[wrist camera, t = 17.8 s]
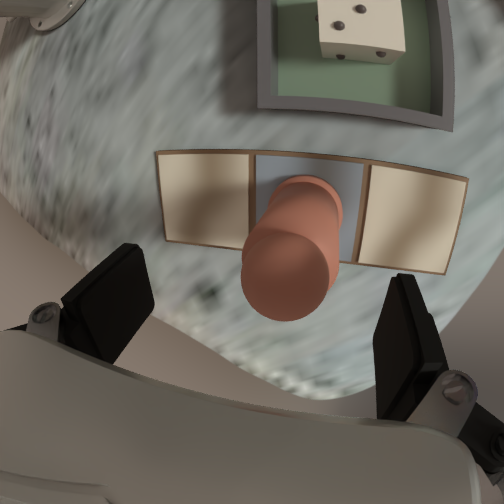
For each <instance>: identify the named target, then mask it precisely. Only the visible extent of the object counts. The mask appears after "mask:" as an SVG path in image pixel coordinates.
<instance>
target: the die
mask: <svg viewBox="0 0 504 504" xmlns="http://www.w3.org/2000/svg"><path fill="white" fill-rule="evenodd" d="M317 2H318V15H316V16H315V20H316V21H317V22H318V23H319V40H320V46H321V51H322V57H323V58H333V59H339V60H343V59H346V60H356V61H365V62H373V63H380V64H387V65H391V64H392V63H393V62H394V61H395V60H396V59H398V58H399V57H400V56H401V55H402V54H404V53H405V37H404V25H403V16H402V7H401V0H317Z"/></svg>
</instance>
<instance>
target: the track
mask: <svg viewBox="0 0 504 504" xmlns="http://www.w3.org/2000/svg"><path fill="white" fill-rule="evenodd" d="M156 157H157V169H158V180H159V191H160V200H161V209H162V217H163V226H164V233H165V241H166V242H175V243H183V244H191V245H199V246H207V247H216V248H224V249H232V250H240V251H242V250H243V246H244V243H245V241H246V239H247V237H248V235H249V234H250V233H251V231H252V230H253V228H254V227H255V225H256V224H257V223H258V221H259V220H260V218H261V217H262V215H263V214H264V213H265V211H266V210H267V208H268V203H269V200H270V197H271V195H272V194H273V192H274V191H275V190H276V188H277V187H278V186H279V185H280V184H281V183H282V182H283V181H285V180H286V179H288V178H290V177H292V176H296V175H302V174H308V175H314V176H317V177H320V178H322V179H324V180H326V181H327V182H328V183H330V184H331V185H332V186H333V187H334V189H335V190H336V191H337V193H338V195H339V197H340V199H341V203H342V210H343V219H342V224H341V227H340V229H339V263H347V264H355V265H363V266H372V267H380V268H388V269H396V270H404V271H413V272H421V273H429V274H437V275H445V274H446V271H447V268H448V265H449V262H450V259H451V255H452V252H453V248H454V245H455V241H456V237H457V233H458V229H459V225H460V221H461V217H462V212H463V208H464V203H465V198H466V193H467V187H468V181H469V179H468V178H467V177H463V176H458V175H454V174H449V173H445V172H440V171H435V170H430V169H425V168H420V167H415V166H409V165H403V164H397V163H391V162H385V161H378V160H371V159H363V158H356V157H347V156H338V155H328V154H317V153H305V152H291V151H274V150H247V149H188V150H162V151H156Z"/></svg>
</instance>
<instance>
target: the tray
mask: <svg viewBox="0 0 504 504" xmlns="http://www.w3.org/2000/svg"><path fill="white" fill-rule="evenodd" d="M401 7H402V16H403V25H404V37H405V53H404V54H402V55H401V56H400V57H399V58H398V59H396V60H395V61H394V62H393V63H392V64H391V65H387V64H380V63H373V62H365V61H356V60H346V59H343V60H339V59H333V58H323V57H322V51H321V46H320V40H319V23H318V22H317V21H316V20H315V16H316V15H318V2H317V0H257V108H261V109H286V110H307V111H322V112H334V113H344V114H353V115H361V116H369V117H376V118H382V119H389V120H395V121H400V122H406V123H411V124H416V125H421V126H426V127H430V128H435V129H439V130H444V131H449V132H453V122H454V97H455V76H454V52H453V39H452V29H451V20H450V13H449V7H448V1H447V0H401Z"/></svg>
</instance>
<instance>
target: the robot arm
mask: <svg viewBox="0 0 504 504" xmlns="http://www.w3.org/2000/svg"><path fill="white" fill-rule="evenodd" d="M84 1H85V0H0V17H7V21H8V22H13V21H14V20H15V19H16V18H17V17H29V20H30V23H31V25H32V26H33V28H35V29H36V30H41V31H49V30H52V29H55V28H57V27H58V26H60V25H62V24H63V23H64V22H65V21H67V20H68V19H69V18H70V17H71V16H72V15H73V14H74V13H75V12H76V11H77V10H78V9H79V7H80V6H81V5H82V4H83V3H84ZM61 301H62V303H63V306H64V307H63V308H62V309H61V308H60V306H59V304H57V303H55V302H47V303H44V304H41V305H39V306H38V307H36V308H35V309H34V310H33V311H32V312H31V314H30V316H29V320H28V323H27V324H24V325H20V326H17V327H14V328H11V329H7V330H4V331H0V504H504V423H502V422H501V421H500V420H498V419H497V418H496V417H495V416H493V415H492V414H491V413H489V412H488V411H487V410H486V409H484V408H483V407H482V406H480V405H479V404H478V403H476V400H477V396H478V391H477V387H476V384H475V382H474V381H473V379H472V378H471V377H470V376H469V375H468V374H466V373H464V372H462V371H460V370H449V368H448V364H447V360H446V357H445V353H444V350H443V347H442V343H441V340H440V337H439V334H438V331H437V328H436V325H435V322H434V319H433V317H432V315H431V314H430V313H428V311H427V308H426V306H425V303H424V300H423V297H422V295H421V292H420V289H419V287H418V284H417V282H416V279H415V277H414V275H412V274H403V273H398V274H397V276H396V277H392V278H391V280H390V284H389V287H388V291H387V294H386V298H385V301H384V304H383V308H382V311H381V314H380V317H379V320H378V323H377V326H376V329H375V332H374V335H373V352H374V365H375V381H376V402H377V419H370V418H355V417H343V416H332V415H323V414H314V413H306V412H298V411H291V410H284V409H277V408H271V407H265V406H260V405H254V404H249V403H244V402H239V401H234V400H229V399H226V398H221V397H217V396H212V395H208V394H204V393H200V392H196V391H193V390H189V389H185V388H182V387H178V386H175V385H172V384H168V383H165V382H161V381H158V380H155V379H152V378H149V377H146V376H143V375H140V374H137V373H134V372H131V371H128V370H126V369H123V368H120V367H117V366H115V365H113V364H114V362H115V361H116V359H117V358H118V357H119V355H120V354H121V352H122V351H123V350H124V348H125V347H126V346H127V344H128V343H129V342H130V340H131V339H132V337H133V336H134V335H135V333H136V332H137V331H138V329H139V328H140V326H141V325H142V324H143V323H144V321H145V320H146V318H147V317H148V316H149V315H150V313H151V312H152V311H153V309H154V305H155V303H154V298H153V294H152V290H151V286H150V281H149V277H148V273H147V268H146V264H145V259H144V254H143V250H142V249H141V248H140V247H139V245H137V244H131V243H124V244H122V245H121V246H120V247H119V248H117V249H116V250H115V251H114V252H113V253H111V254H110V255H109V256H108V257H107V258H106V259H104V260H103V261H102V262H101V263H100V264H99V265H97V266H96V267H95V268H94V269H93V270H92V271H90V272H89V273H88V274H87V275H86V276H85V277H84V278H83V279H81V281H79V282H78V283H77V284H76V285H75V286H74V287H73V288H72V289H70V291H68V292H67V293H66V294H65V295H64V296H63V297H62V298H61Z"/></svg>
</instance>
